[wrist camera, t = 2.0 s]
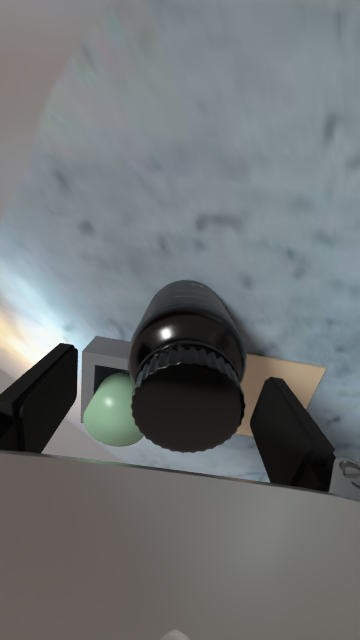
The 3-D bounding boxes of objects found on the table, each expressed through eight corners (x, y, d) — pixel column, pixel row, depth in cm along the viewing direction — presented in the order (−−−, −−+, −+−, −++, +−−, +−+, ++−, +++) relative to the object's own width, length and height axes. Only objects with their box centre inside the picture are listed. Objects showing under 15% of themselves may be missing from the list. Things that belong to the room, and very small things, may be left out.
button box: (177, 350, 21) (176, 367, 19) (165, 412, 24) (162, 435, 22) (96, 336, 21) (82, 351, 18) (93, 401, 24) (80, 422, 21)
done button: (156, 377, 19) (151, 403, 16) (149, 420, 21) (143, 450, 18) (100, 367, 19) (84, 392, 16) (97, 411, 21) (82, 441, 18)
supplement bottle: (207, 356, 22) (229, 486, 10) (141, 335, 21) (88, 449, 10) (236, 292, 19) (304, 371, 8) (162, 266, 19) (124, 313, 7)
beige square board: (324, 367, 22) (326, 368, 21) (288, 440, 25) (289, 442, 25) (215, 347, 21) (215, 349, 21) (194, 424, 25) (194, 426, 25)
